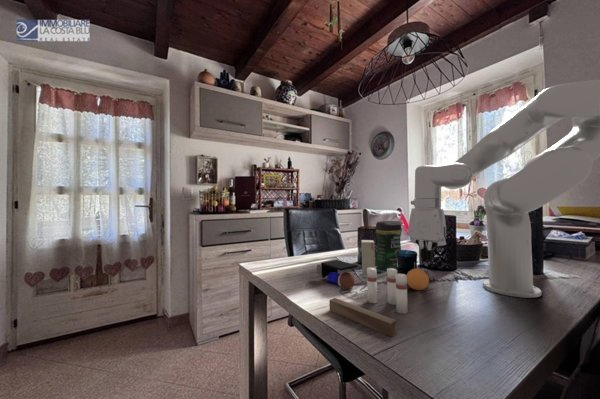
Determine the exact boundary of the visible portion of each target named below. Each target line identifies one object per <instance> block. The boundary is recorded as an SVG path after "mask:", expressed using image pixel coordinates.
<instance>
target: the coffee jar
mask: <svg viewBox="0 0 600 399" xmlns="http://www.w3.org/2000/svg"><path fill="white" fill-rule="evenodd" d="M402 232H403V231H402V223H401V222H400V221H398V220H381V221H377V222H376V223H375V233H376V237H377V238H376V239H377V240H376V241H377V242H376V245H377V246H376V256H375V267H377V268H378V269H379V270H385V271H387V269H388V268H393V269H397V268H398V267H397V252H400V251H401V252H402V248H401V247H402V245H401V244H402V242H401V235H402ZM397 270H398V269H397Z"/></svg>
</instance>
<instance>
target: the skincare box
mask: <svg viewBox="0 0 600 399" xmlns="http://www.w3.org/2000/svg"><path fill="white" fill-rule="evenodd" d="M360 243H361V245H360V246H361V273H362V278H366V279H367V268H376V250H375V249H376V247H375V245H376V244H375V243H376V242H375V241H374V240H372V239H361V242H360Z"/></svg>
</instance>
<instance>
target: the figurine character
mask: <svg viewBox="0 0 600 399" xmlns="http://www.w3.org/2000/svg"><path fill="white" fill-rule="evenodd" d="M355 268H358V265H357V264H354V263H350V262H348V261H347V262H346V261H342V260H338V259H334V260H328V261H324V262H323V261H322V262H321V263H320V264H317V265H316V272H317V273H318V275H320V276H321V278H323V279H322V280H323V281H325V282H330V283H331V282H332V283H335V284H338V286H339V287H340V288H341V289H343V290H350V289H352V288H353V287H354V286H355V282H356V280H355V276H354V275H353V274H352V273H350V272H345V270H350V269H355ZM339 271H341V272H342V271H344V272H342V273H339Z"/></svg>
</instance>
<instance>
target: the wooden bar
mask: <svg viewBox="0 0 600 399" xmlns="http://www.w3.org/2000/svg"><path fill="white" fill-rule="evenodd" d="M328 305H329V311H330V312H333V313H335V314H337V315H340V316H341V317H344V318H346V319H349V320H352V321H354V322H356V323H358V324H360V325H363V326H365V327H367V328H369V329H372V330H375V331H376V332H379V333H382V334H383V335H387V336H389V337H391V338H392V337H393V336H395V335H396V334H397V320H396V319H393V318H391V317H388V316H386V315H384V314H380V313H377V312H375V311H372V310H369V309H367V308H363V307H361V306H359V305H355V304H353V303H350V302H348V301H344V300H342V299H339V298H336V297H333V298H331V299H329V304H328Z"/></svg>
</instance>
